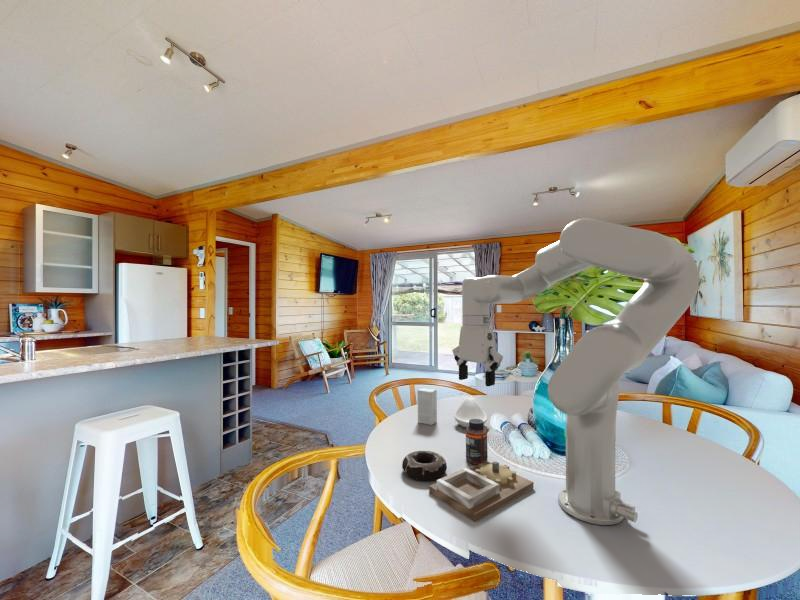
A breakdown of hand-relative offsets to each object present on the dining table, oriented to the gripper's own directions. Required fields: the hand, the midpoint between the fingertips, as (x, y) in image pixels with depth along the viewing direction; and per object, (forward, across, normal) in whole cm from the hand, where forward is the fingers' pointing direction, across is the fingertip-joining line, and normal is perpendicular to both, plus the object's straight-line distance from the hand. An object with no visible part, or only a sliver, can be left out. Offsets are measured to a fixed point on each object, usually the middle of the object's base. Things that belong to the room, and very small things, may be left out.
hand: (476, 382), depth 100 cm
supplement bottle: (+22, 0, 0) cm, 22 cm away
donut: (+22, +4, +16) cm, 28 cm away
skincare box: (+22, +32, -10) cm, 40 cm away
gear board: (+22, -11, +11) cm, 27 cm away
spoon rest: (+22, +24, -24) cm, 41 cm away
